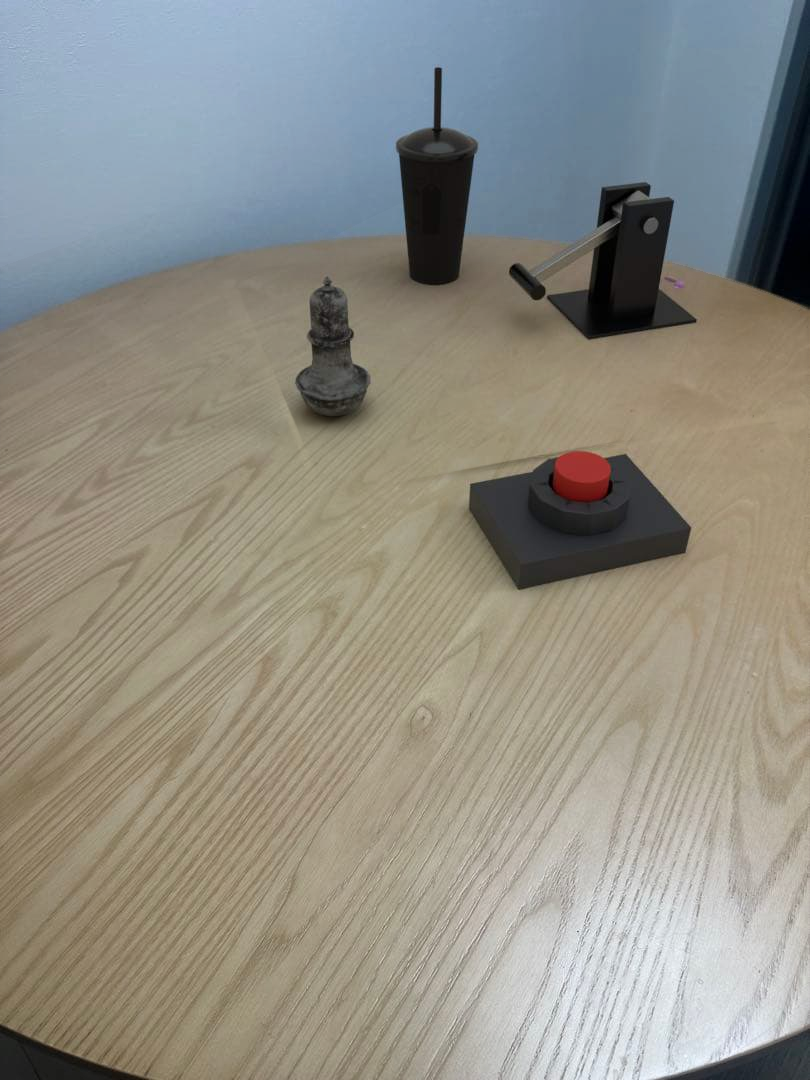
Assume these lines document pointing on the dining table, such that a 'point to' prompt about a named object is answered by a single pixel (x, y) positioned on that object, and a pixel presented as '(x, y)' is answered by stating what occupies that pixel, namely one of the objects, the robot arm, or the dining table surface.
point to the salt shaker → (331, 357)
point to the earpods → (678, 283)
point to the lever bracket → (626, 271)
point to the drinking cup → (435, 195)
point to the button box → (575, 524)
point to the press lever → (569, 253)
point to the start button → (581, 476)
